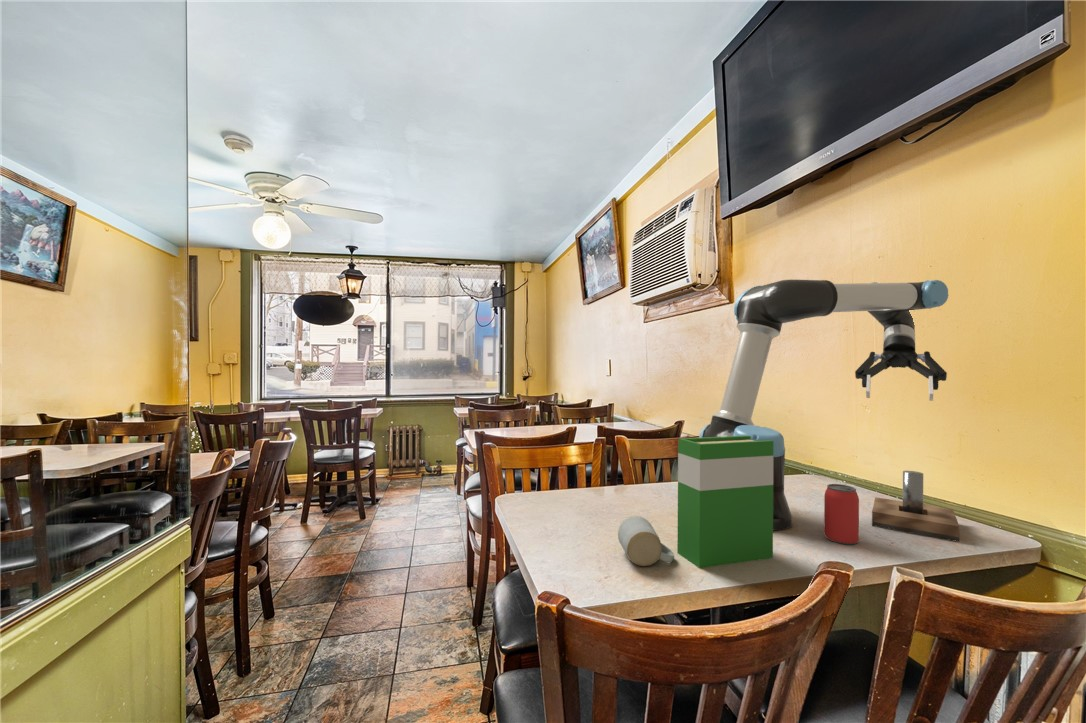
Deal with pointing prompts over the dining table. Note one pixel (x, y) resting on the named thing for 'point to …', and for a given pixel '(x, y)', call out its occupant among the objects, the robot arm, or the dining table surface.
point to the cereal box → (725, 500)
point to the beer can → (841, 514)
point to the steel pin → (913, 492)
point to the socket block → (915, 519)
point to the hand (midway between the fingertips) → (898, 396)
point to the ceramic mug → (642, 542)
